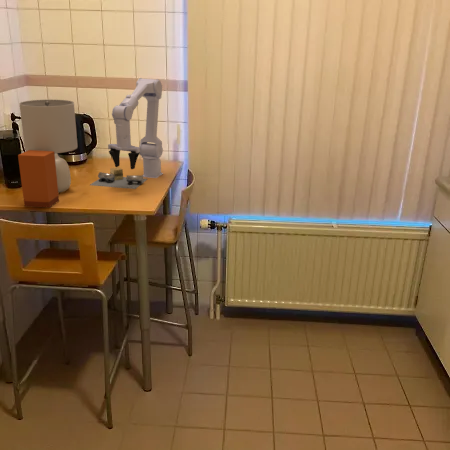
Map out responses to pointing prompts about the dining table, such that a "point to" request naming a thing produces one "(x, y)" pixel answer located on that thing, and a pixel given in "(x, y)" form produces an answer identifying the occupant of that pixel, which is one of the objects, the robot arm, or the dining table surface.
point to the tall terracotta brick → (38, 178)
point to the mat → (117, 183)
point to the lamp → (50, 132)
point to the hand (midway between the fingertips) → (125, 167)
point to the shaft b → (134, 179)
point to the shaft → (106, 177)
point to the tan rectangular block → (117, 173)
